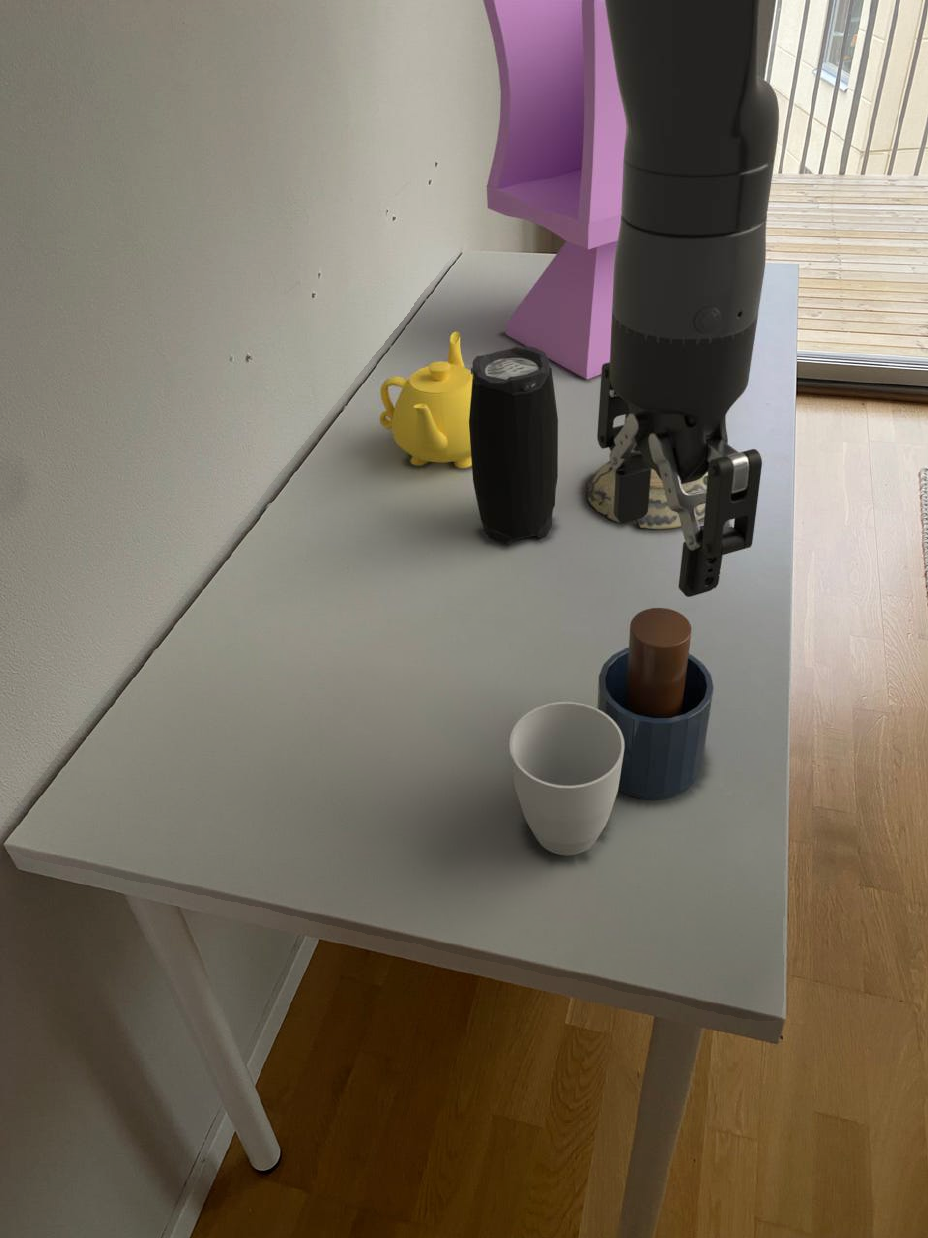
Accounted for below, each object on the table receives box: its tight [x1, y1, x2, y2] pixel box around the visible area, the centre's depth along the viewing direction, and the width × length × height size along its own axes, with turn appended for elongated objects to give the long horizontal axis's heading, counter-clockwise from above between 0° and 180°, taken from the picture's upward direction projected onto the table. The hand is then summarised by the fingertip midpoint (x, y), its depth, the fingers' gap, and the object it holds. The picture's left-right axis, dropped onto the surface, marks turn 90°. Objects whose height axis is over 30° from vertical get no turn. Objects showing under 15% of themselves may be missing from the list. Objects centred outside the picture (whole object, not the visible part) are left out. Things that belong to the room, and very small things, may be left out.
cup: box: [509, 701, 624, 856], centre depth 70 cm, size 8×8×10 cm
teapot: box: [379, 331, 473, 469], centre depth 114 cm, size 20×15×12 cm
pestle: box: [625, 607, 693, 718], centre depth 73 cm, size 4×4×14 cm
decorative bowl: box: [585, 460, 708, 530], centre depth 107 cm, size 15×4×15 cm
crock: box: [597, 646, 715, 801], centre depth 75 cm, size 9×9×9 cm
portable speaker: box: [469, 345, 559, 545], centre depth 98 cm, size 9×9×20 cm
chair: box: [482, 0, 626, 380], centre depth 126 cm, size 22×22×45 cm
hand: (661, 552), depth 60 cm, fingers open, 8 cm apart
